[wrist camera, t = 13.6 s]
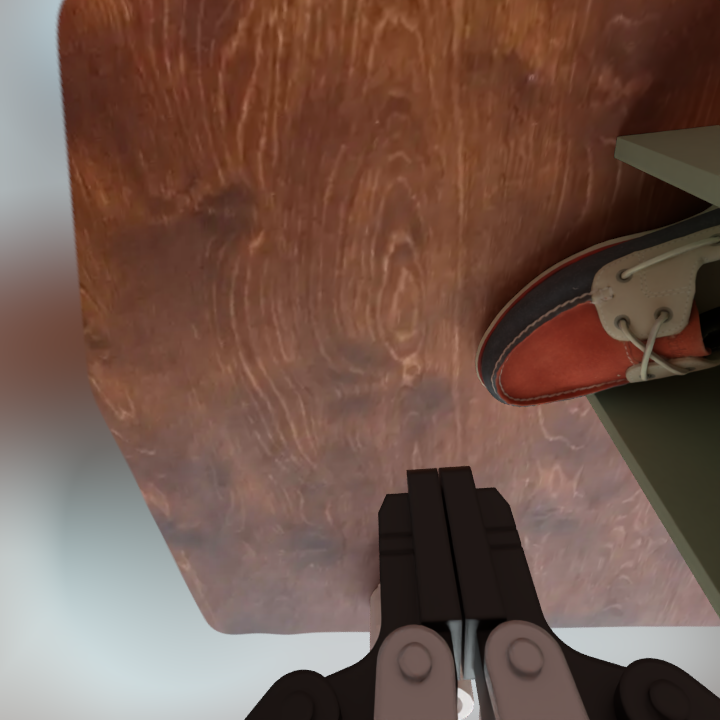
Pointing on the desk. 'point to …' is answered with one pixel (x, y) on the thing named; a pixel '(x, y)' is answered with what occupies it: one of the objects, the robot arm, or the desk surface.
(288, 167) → the desk surface
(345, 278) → the desk surface
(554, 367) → the boat shoe
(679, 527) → the tall tan-topped box
